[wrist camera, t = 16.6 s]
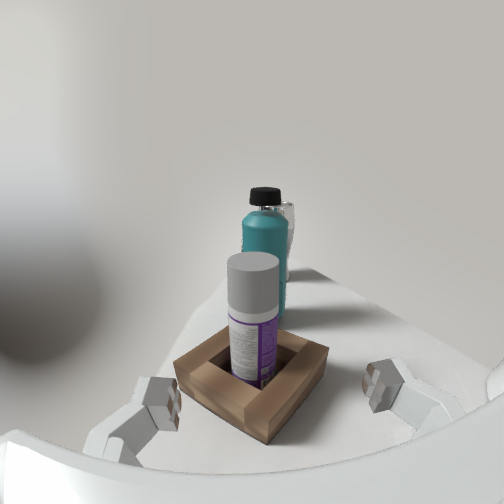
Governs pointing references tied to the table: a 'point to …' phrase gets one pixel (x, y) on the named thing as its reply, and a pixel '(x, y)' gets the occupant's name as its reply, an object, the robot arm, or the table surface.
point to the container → (253, 316)
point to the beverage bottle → (268, 233)
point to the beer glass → (288, 213)
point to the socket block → (244, 395)
